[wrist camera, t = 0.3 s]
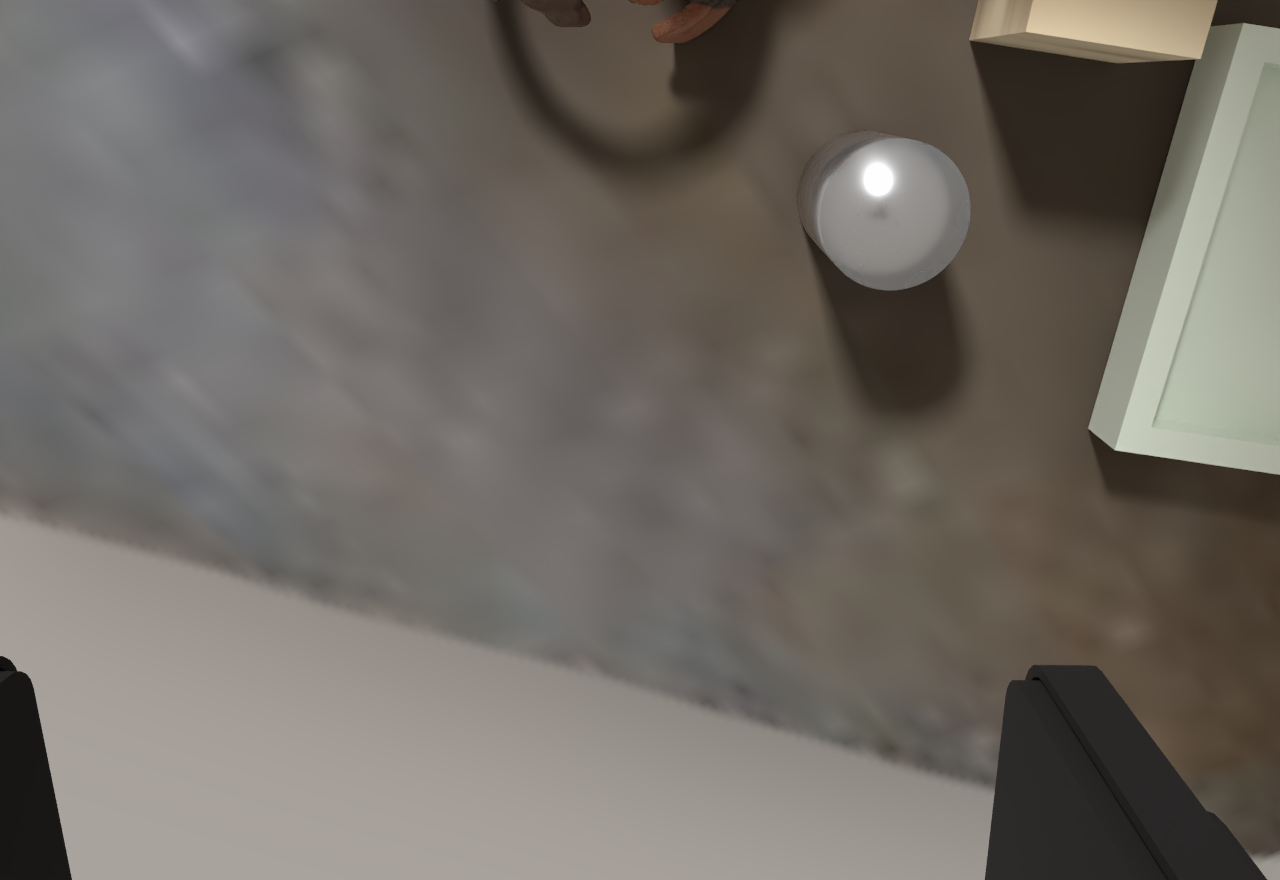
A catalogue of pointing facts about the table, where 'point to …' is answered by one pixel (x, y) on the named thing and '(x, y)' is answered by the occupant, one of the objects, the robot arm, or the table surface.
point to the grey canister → (884, 208)
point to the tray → (1208, 275)
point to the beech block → (1098, 27)
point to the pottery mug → (704, 10)
